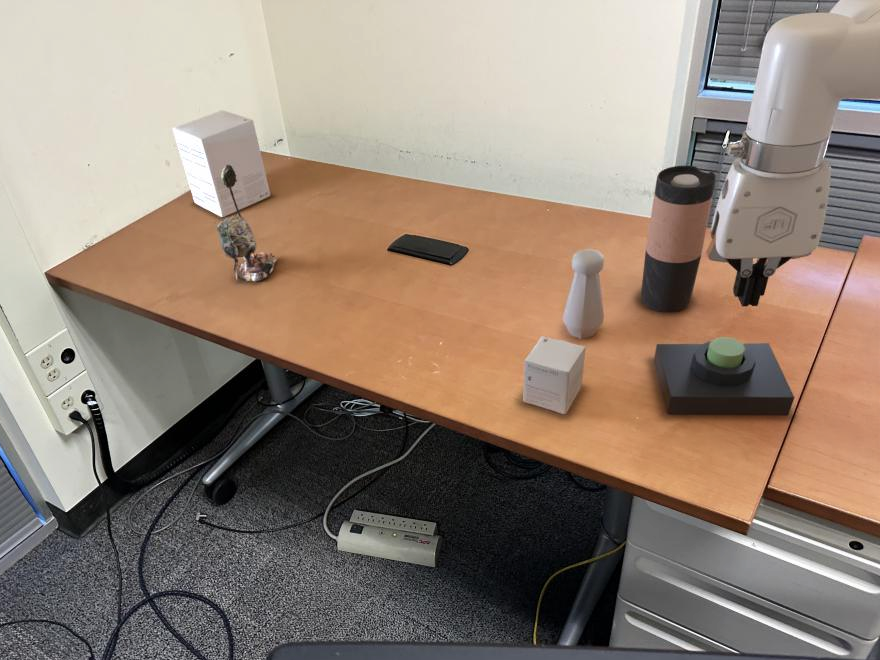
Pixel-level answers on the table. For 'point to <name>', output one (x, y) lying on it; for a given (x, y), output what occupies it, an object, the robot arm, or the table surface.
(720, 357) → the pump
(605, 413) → the table surface
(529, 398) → the product box
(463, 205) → the table surface
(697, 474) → the table surface
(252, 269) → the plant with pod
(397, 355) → the table surface
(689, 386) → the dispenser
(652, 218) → the travel mug
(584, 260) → the salt shaker
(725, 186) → the robot arm
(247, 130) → the supplement box
